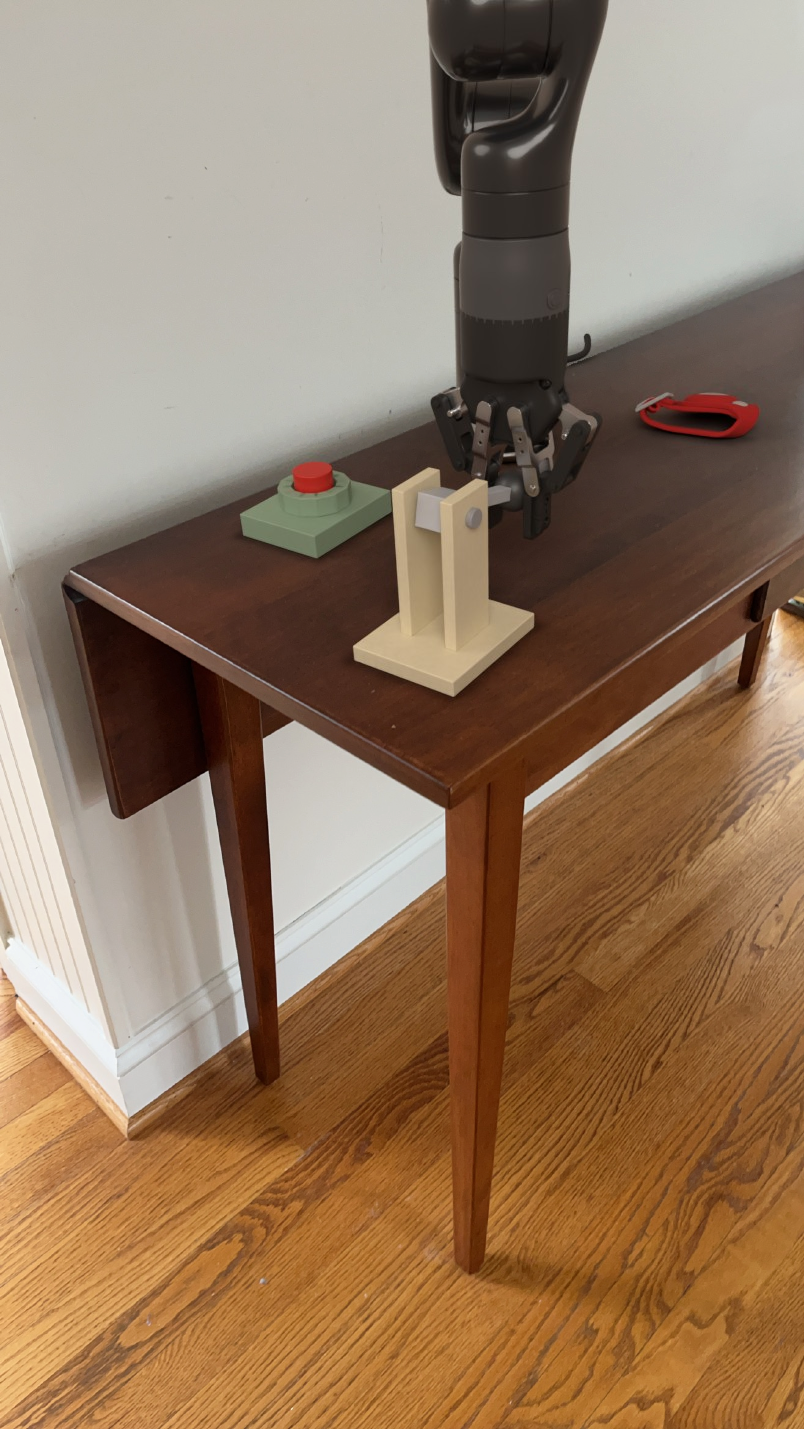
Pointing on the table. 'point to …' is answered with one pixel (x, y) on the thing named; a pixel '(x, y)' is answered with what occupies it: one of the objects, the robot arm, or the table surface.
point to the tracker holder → (702, 403)
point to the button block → (316, 515)
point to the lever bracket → (443, 594)
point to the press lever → (503, 494)
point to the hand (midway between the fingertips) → (512, 528)
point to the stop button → (313, 477)
